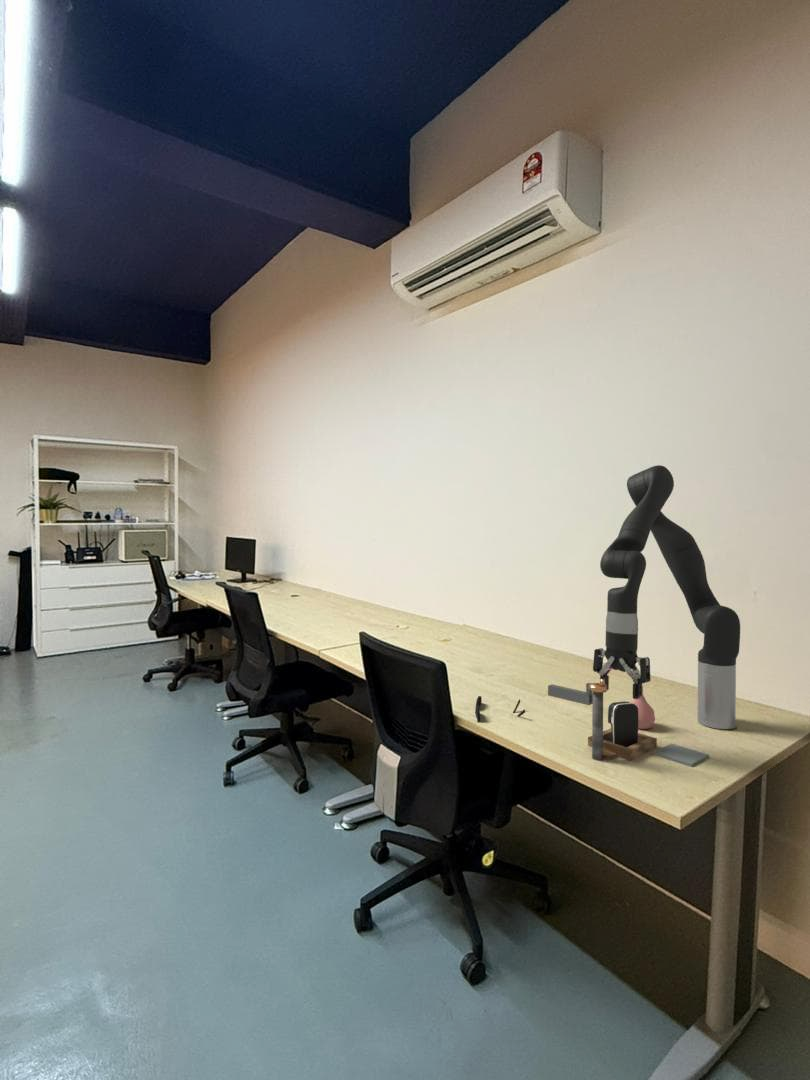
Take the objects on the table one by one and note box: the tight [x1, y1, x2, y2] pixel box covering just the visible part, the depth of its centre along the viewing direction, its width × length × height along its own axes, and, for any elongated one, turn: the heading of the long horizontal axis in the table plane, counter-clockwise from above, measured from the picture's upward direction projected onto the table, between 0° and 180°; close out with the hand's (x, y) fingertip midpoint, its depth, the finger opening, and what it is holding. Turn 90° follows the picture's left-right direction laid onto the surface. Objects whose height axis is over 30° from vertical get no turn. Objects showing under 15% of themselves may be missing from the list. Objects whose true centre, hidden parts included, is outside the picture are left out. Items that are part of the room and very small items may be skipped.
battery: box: [607, 701, 639, 747], centre depth 138 cm, size 7×4×11 cm, turn 106°
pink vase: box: [630, 685, 656, 730], centre depth 152 cm, size 8×8×12 cm
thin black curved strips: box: [474, 695, 526, 723], centre depth 160 cm, size 17×14×5 cm
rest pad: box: [653, 743, 710, 767], centre depth 133 cm, size 9×9×1 cm
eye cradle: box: [587, 692, 658, 762], centre depth 136 cm, size 19×11×16 cm, turn 129°
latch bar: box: [547, 679, 608, 706], centre depth 135 cm, size 15×4×7 cm, turn 43°
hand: (620, 694), depth 138 cm, fingers open, 8 cm apart
